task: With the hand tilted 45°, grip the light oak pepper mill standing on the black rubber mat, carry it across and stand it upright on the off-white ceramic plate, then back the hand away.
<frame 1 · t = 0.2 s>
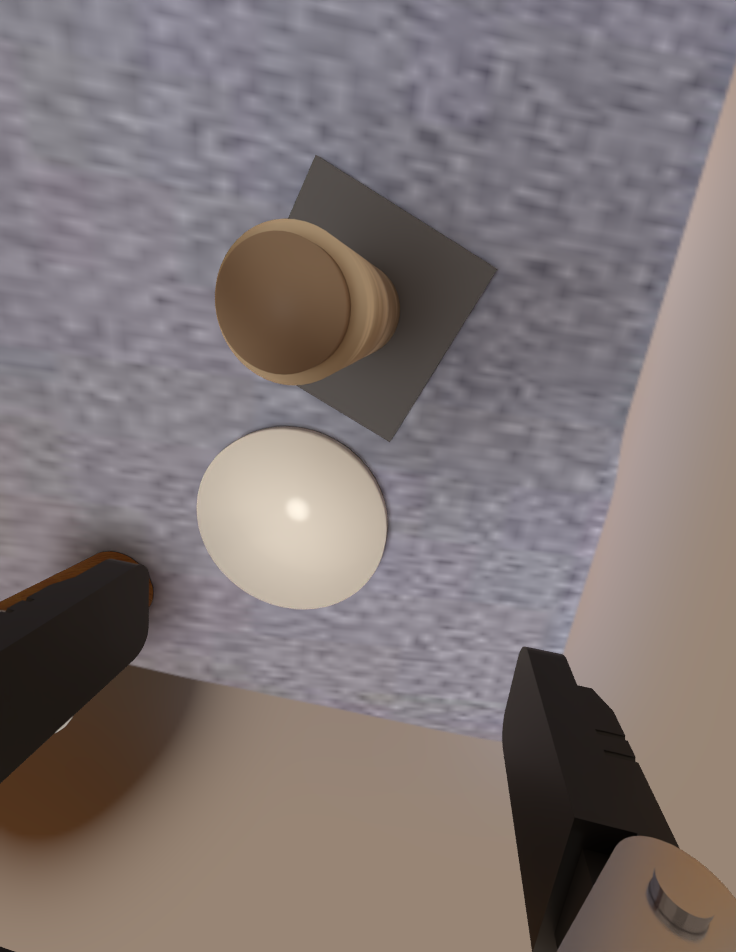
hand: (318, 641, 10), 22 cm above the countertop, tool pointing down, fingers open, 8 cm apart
disposable coffee cup: (120, 582, 39), on the countertop
plate: (293, 518, 34), on the countertop
mat: (357, 310, 28), on the countertop
pepper mill: (355, 310, 28), resting on mat
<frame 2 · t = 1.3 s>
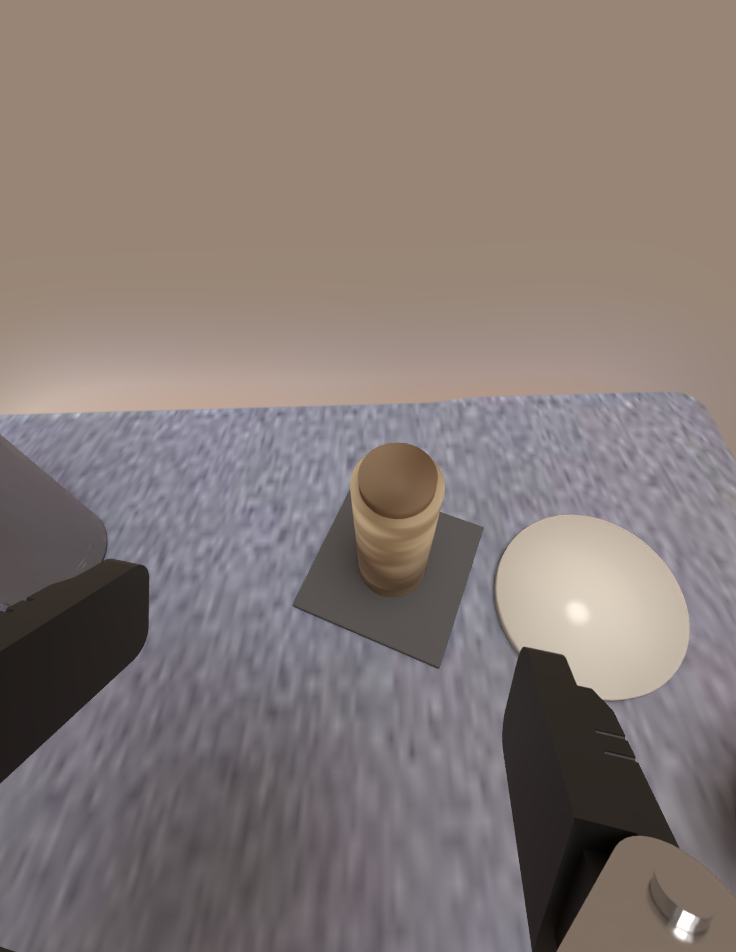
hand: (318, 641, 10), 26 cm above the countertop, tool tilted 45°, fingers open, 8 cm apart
plate: (584, 601, 36), on the countertop
mat: (391, 566, 38), on the countertop
pepper mill: (392, 564, 37), resting on mat
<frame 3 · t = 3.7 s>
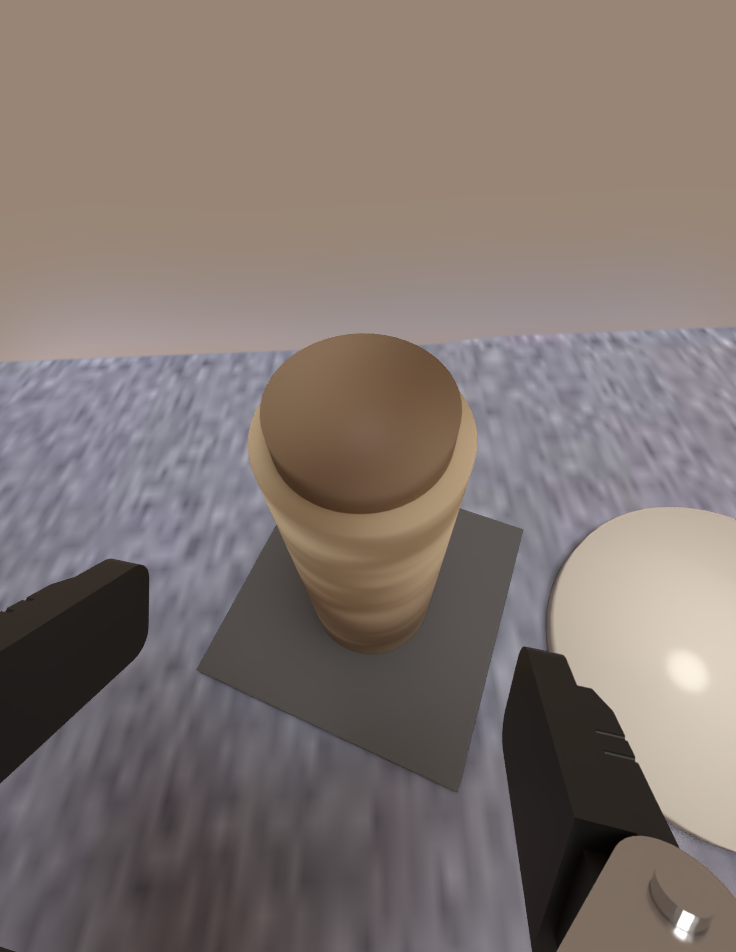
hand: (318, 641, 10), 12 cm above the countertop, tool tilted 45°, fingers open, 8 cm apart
plate: (706, 657, 21), on the countertop
mat: (371, 597, 22), on the countertop
pepper mill: (371, 594, 22), resting on mat
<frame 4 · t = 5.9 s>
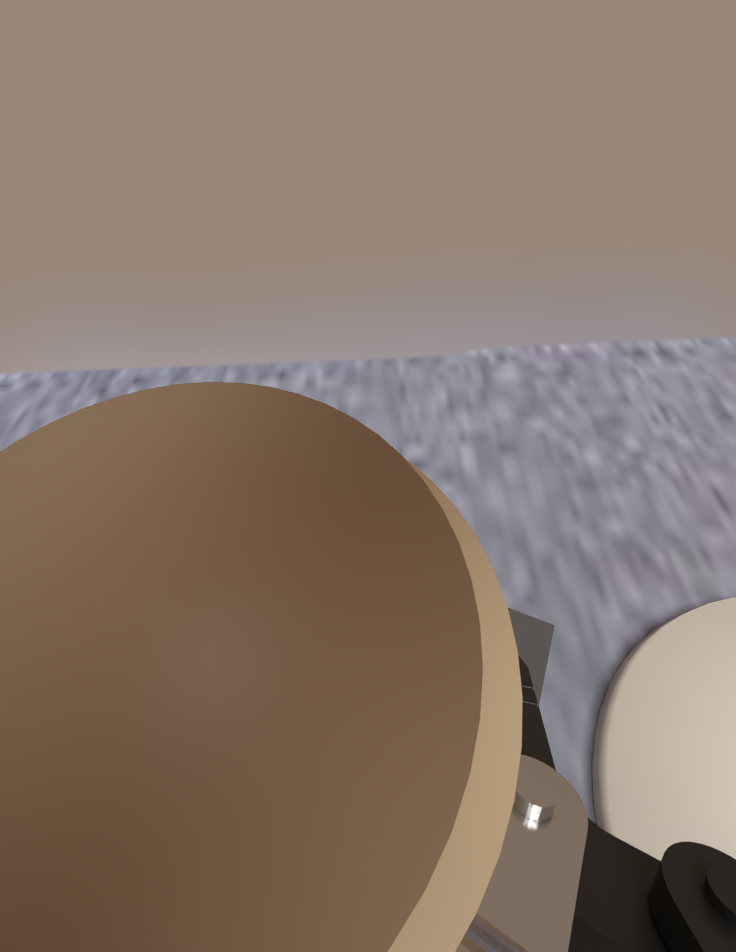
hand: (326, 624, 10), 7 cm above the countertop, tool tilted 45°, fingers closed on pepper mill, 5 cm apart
mat: (335, 730, 15), on the countertop
pepper mill: (334, 729, 15), point 1 cm above the countertop, touching gripper, mat
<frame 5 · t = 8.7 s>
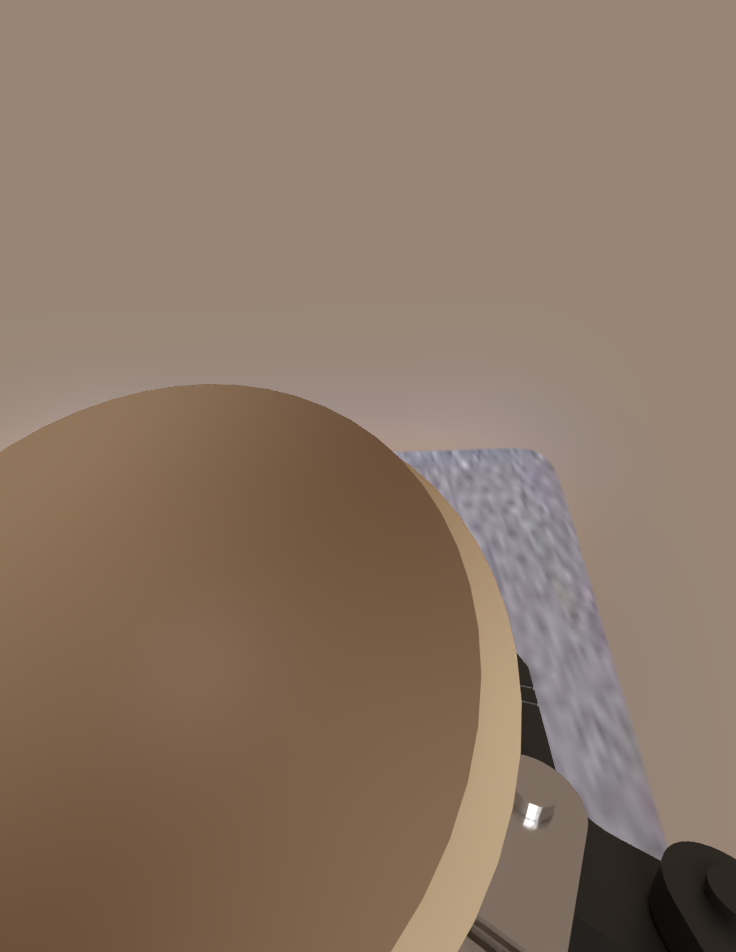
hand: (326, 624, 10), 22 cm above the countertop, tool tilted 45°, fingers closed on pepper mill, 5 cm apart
pepper mill: (334, 730, 15), point 16 cm above the countertop, touching gripper
when the fingers open (9 cm above the countertop, at t = 11.7 s): pepper mill drops 1 cm, resting on plate.
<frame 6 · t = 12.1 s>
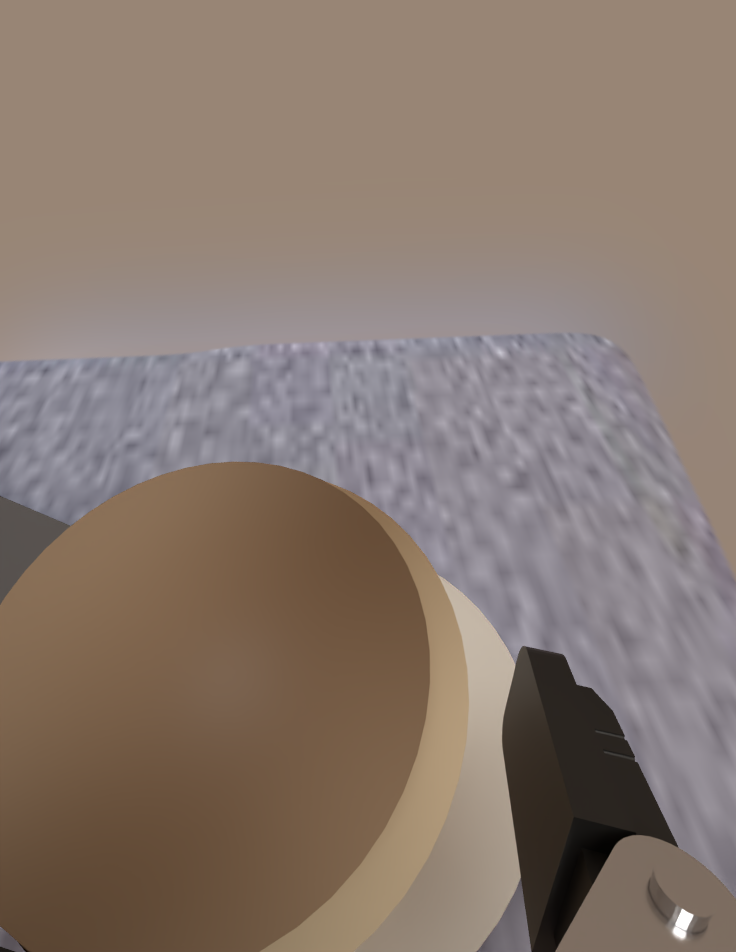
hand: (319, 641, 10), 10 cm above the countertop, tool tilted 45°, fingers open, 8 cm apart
plate: (340, 733, 17), on the countertop
pepper mill: (335, 736, 16), point 1 cm above the countertop, touching plate
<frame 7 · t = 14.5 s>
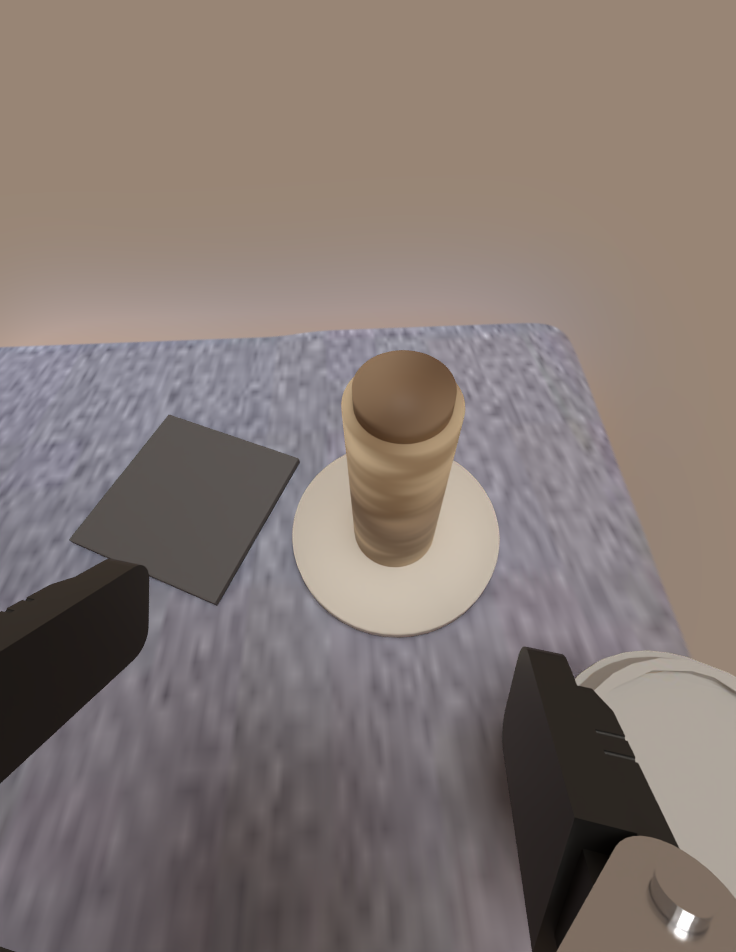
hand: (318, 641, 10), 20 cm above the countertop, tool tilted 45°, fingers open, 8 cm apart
disposable coffee cup: (572, 783, 25), on the countertop
plate: (394, 534, 32), on the countertop
mat: (191, 500, 34), on the countertop
pepper mill: (394, 529, 31), point 1 cm above the countertop, touching plate
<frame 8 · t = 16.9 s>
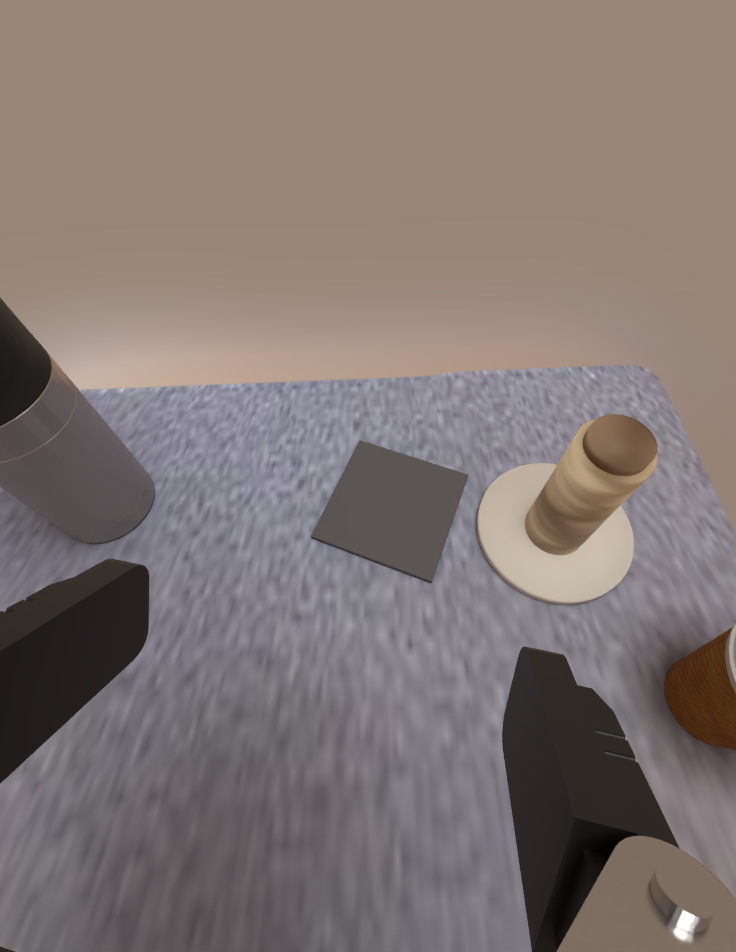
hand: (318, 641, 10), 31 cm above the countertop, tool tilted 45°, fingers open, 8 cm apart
disposable coffee cup: (705, 700, 36), on the countertop
plate: (550, 531, 44), on the countertop
mat: (392, 506, 46), on the countertop
pepper mill: (554, 527, 43), point 1 cm above the countertop, touching plate
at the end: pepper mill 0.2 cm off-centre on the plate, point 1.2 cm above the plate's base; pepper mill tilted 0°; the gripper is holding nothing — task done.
